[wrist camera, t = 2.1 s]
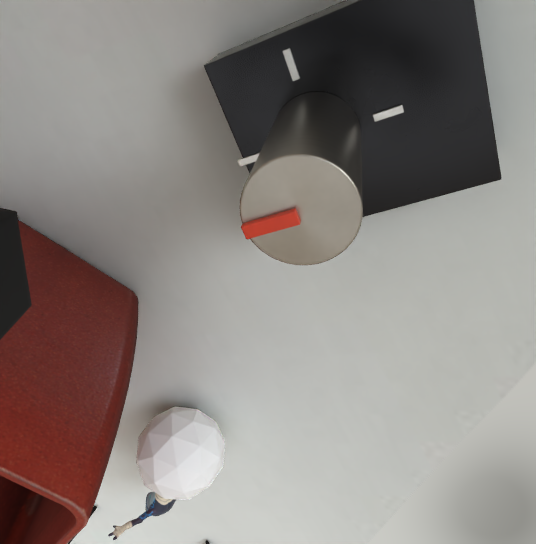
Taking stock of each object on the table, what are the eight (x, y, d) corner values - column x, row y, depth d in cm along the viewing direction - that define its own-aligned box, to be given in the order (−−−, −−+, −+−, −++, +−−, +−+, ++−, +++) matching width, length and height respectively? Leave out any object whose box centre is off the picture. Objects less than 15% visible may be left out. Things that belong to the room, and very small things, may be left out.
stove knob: (346, 77, 23) (341, 139, 15) (371, 163, 25) (377, 254, 17) (259, 109, 24) (217, 180, 17) (290, 188, 26) (264, 281, 19)
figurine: (107, 415, 36) (81, 512, 41) (167, 490, 32) (129, 585, 38) (212, 370, 44) (178, 456, 49) (269, 426, 40) (225, 512, 46)
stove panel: (454, -46, 22) (467, -44, 19) (488, 157, 27) (502, 180, 24) (213, 56, 26) (196, 68, 23) (279, 217, 31) (272, 242, 28)
